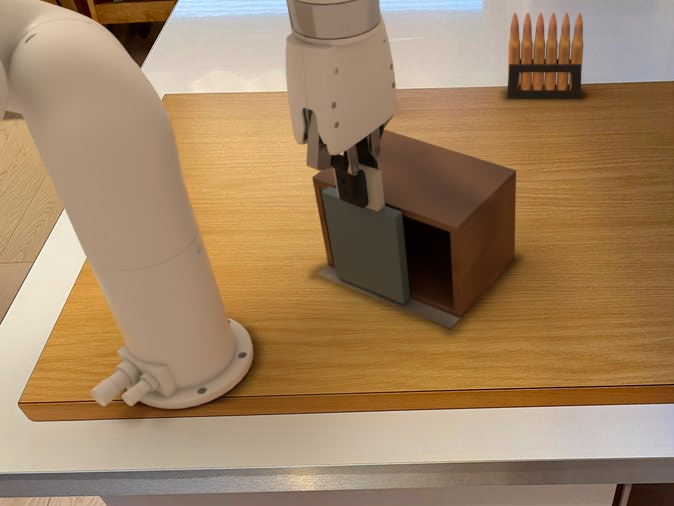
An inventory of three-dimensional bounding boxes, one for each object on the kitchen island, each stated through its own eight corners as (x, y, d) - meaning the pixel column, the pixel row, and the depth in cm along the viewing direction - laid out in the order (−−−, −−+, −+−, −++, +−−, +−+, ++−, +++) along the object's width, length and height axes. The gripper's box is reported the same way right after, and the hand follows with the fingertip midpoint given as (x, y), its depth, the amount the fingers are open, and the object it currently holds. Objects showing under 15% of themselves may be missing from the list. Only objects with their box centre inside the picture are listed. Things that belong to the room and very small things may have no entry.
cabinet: (450, 329, 85) (445, 238, 76) (317, 275, 91) (299, 186, 83) (514, 259, 93) (516, 170, 85) (388, 214, 99) (378, 127, 91)
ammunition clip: (507, 98, 119) (507, 15, 111) (507, 92, 121) (508, 10, 112) (580, 98, 119) (587, 15, 111) (580, 92, 120) (586, 10, 112)
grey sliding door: (404, 304, 87) (391, 182, 76) (336, 277, 90) (315, 156, 79) (410, 298, 88) (398, 176, 77) (343, 271, 91) (323, 151, 80)
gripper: (356, -30, 74) (377, 152, 87) (234, 34, 64) (278, 227, 77) (425, -14, 71) (436, 171, 84) (308, 55, 62) (341, 251, 75)
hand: (360, 197), depth 81 cm, fingers closed
